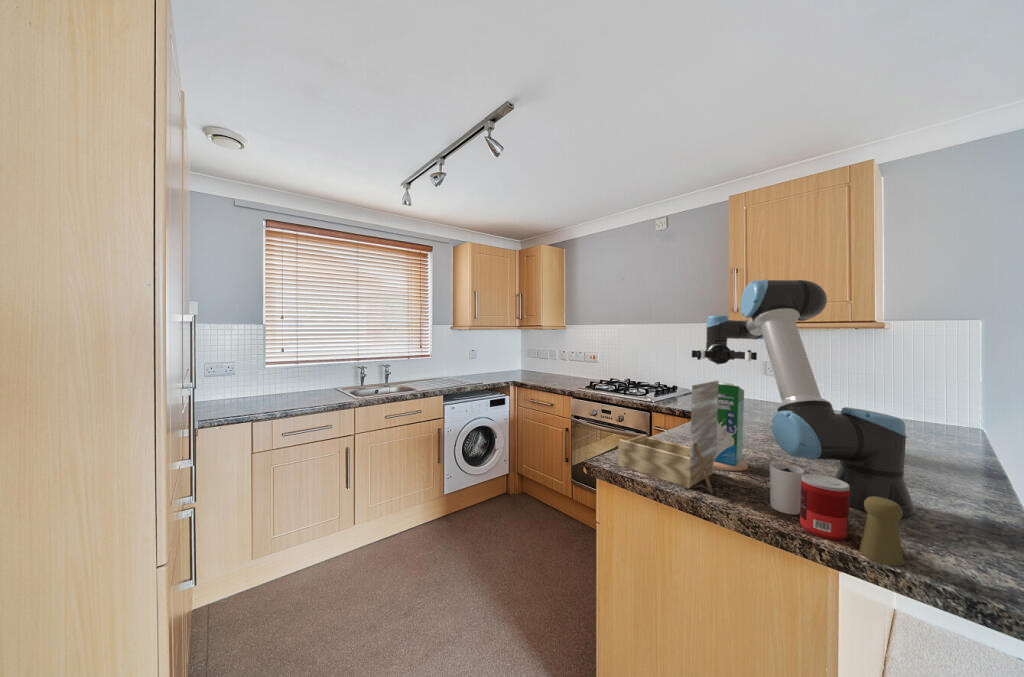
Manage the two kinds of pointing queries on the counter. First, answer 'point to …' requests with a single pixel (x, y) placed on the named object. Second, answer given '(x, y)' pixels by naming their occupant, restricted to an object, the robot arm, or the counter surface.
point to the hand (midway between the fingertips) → (726, 355)
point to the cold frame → (676, 459)
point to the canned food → (824, 506)
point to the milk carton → (729, 424)
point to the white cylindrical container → (785, 487)
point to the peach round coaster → (739, 467)
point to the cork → (882, 531)
